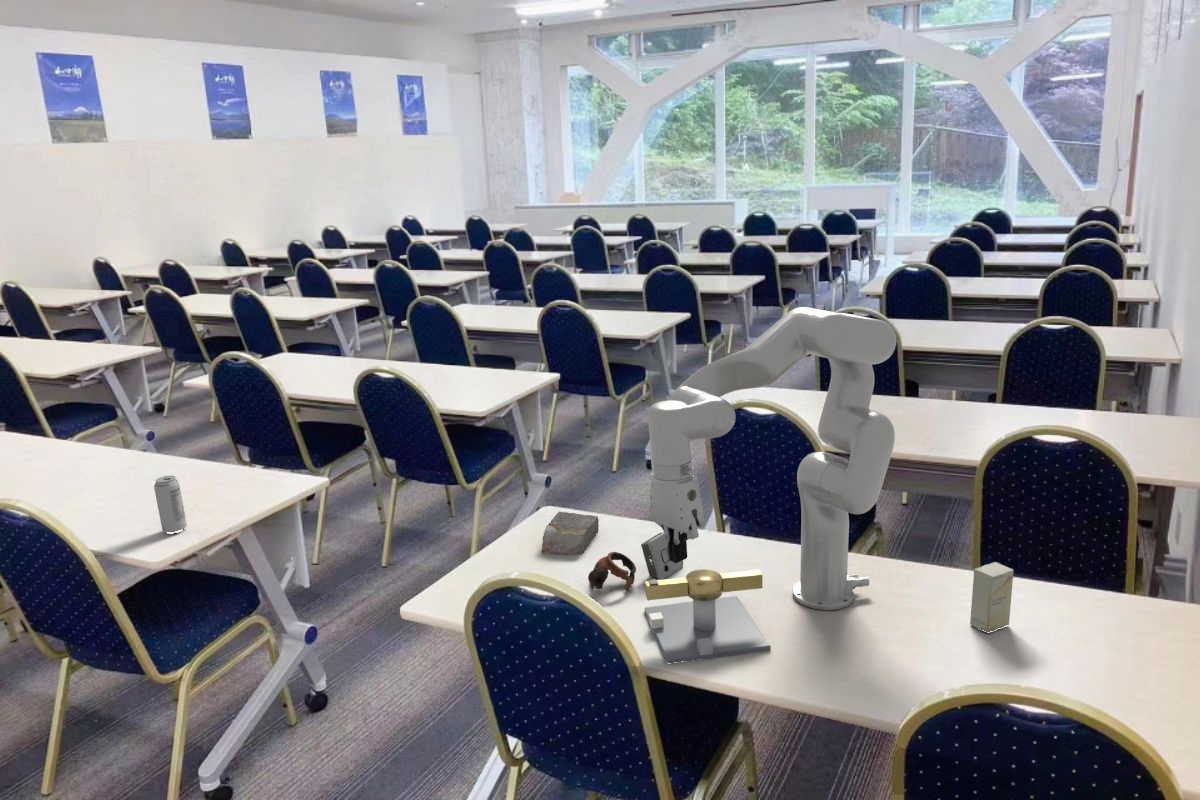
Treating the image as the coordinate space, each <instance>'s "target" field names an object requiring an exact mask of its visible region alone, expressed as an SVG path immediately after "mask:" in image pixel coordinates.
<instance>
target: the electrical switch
mask: <svg viewBox="0 0 1200 800" xmlns="http://www.w3.org/2000/svg"><path fill="white" fill-rule="evenodd" d="M668 542H669V541H667V540H666V538H665V533H664V531H663V532H659V533H656V535H654V536H652V537H651V538H649V539H648V540H645V541H644V542H642V543H641V544H640V546H641V550H642V553H643V556H644V560H645V563H646V564H645V565H646V568H647V570H648V571H647V572H648V575H649V577H655V578H656V579H657V580H666V579H667V578H668V577H669V576H671V575H672V574H674V573H675V572H677V571H678V570H680V569H681V568H683V567H684V560H682V561H680V562H678V563H674V562H673V561H670V560H669V550H668Z"/></svg>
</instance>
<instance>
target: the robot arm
mask: <svg viewBox="0 0 1200 800" xmlns="http://www.w3.org/2000/svg"><path fill="white" fill-rule="evenodd" d="M896 346H897V335H896V332H895V329H894V328H893V327H892V326H891V325H890V323H888V322H887V321H885V320H881V319H876V318H870V317H866V316H860V315H857V314H851V313H844V312H833V311H830V310H825V309H818V308H817V309H816V308H814V307H812V308H811V307H807V306H806V307H805V306H802V307H801V306H800V307H796V308H793V309H791V310H790V311H788V312H787V313H785V314H784V315H783V316H782V317H781V318H780V319H778V320H777V321H776V322H775V323H774V324H773V325H771V326H770V327H769V328H768V329H767V330H766V331H764V332H763V333H762V334H761V335H760V336H758V337H757V338H756V339H755V340H754V341H752V342H751V343H750V344H749V345H748V346H746V347H745V348H744V349H742V350H739V351H737V352H733V353H731V354H729V355H727V356H724V357H722V358H719V359H717V360H715V361H712V362H711V363H708V364H706V365H704V366H703V367H700V368H699V369H698V370H697V371H695V372H694V373H693V374H691V375H690V376H689V377H688V378H687V379H686V380H684V381H683V382H682V383H681V384H680V385H679V386H678V387H676V389H675V390H674V391H673V393H672V394H671V396H670V398H669V399H668V400H662V401H657V402H655V403H653V404H652V405H651V406H650V407H649V408H648V411H647V421H648V433H649V435H648V436H649V446H650V447H649V449H650V460H651V476H650V482H649V483H650V484H649V485H650V487H649V503H650V504H649V505H650V513H651V517H652V519H653V521H654V522H655V524H656V525H657V526H659V527H661V529H662V531H663V532H664V533H665V538H666V540H667V541H669V542H668V550H669V560H670V561H673V562H674V563H678V562H680V561H682V560H683V561H685V560H686V559H687V558H688V547H687V546H688V543H687V541H688V540H695V539H697V538H699V536H700V535H699V530H698V528H701V527H703V526H704V521H705V520H704V519H705V518H704V509H703V507H704V506H703V502H702V501H703V500H702V496H701V489H700V485H699V482H698V478H697V476H695V472H696V471H695V469H694V460H693V441H694V440H705V439H714V438H715V439H716V438H720V437H722V436H724V435H727V434H728V432H730V431H731V430H732V429H733V426H734V425H735V423H736V412H735V409H734V407H733V405H732V404H731V403H730V402H728V400H726V399H724V398H722V396H725V395H727V394H730V393H733V392H736V391H741V390H749V389H757V388H763V387H768V386H772V385H774V384H776V383H777V382H778V381H779V380H780V379H781V378H783V376H785V375H786V374H787V373H789V371H790V370H792V369H793V368H794V367H795V366H796V365H797V364H798V363H800V362H801V361H802V360H803V359H804V358H806V357H807V356H808V355H813V356H817V357H821V358H823V359H824V358H826V359H828V362H829V365H830V366H829V367H830V371H831V372H830V382H829V386H828V389H827V392H826V393H827V394H826V396H825V397H826V398H825V401H824V403H823V404H824V405H823V407H822V412H821V414H820V418H819V422H818V428H817V433H818V434H817V435H818V437H819V439H820V440H821V442H822V443H824V444H826V445H827V446H828V447H829V446H830V447H831V448H833V449H836V450H839V451H842V452H844V453H847V454H849V460H848V459H846V458H844V457H841V456H840V455H839V456H838V455H836V454H833V453H829V452H826V451H815V452H811V453H809V454H807V455H806V456H805V457H804V458H803V459H802V460H801V462H800V463H799V464H798V465H799V466H798V467H797V468H798V469H797V472H796V476H797V477H796V481H797V488H798V493H799V497H800V509H801V510H800V511H801V522H800V523H801V526H800V529H801V530H800V572H799V573H800V575H799V576H800V581H797V583H795V584H794V586H793V587H792V596H793V599H795V600H796V601H797V602H798V603H800V604H801V605H802V606H805V607H807V608H810V609H815V610H820V611H821V610H822V611H836V610H837V611H838V610H841V609H845V608H847V607H848V606H850V605H851V604H853V602H854V600H855V592H854V590H855V589H856V588H859V587H860V588H861V587H868V586H870V579H869V577H868V576H863V577H862V576H861V577H860V576H858V574H857V573H850V574H848V565H849V564H848V561H849V534H850V533H849V530H850V517H849V514H852V515H853V514H854V515H861V514H865V513H867V512H869V511H870V510H871V509H872V508H873V507H874V505H876V503H877V500H878V498H879V496H880V494H881V491H882V488H883V484H884V481H885V477H886V474H887V471H888V468H889V465H890V461H891V458H892V454H893V451H894V447H895V439H896V438H895V437H896V434H895V428H894V425H893V423H892V421H891V420H890V418H889V417H887V416H886V415H885V414H883V413H881V412H878V411H876V410H873V409H870V406H871V400H872V396H873V392H874V387H875V372H874V371H875V370H874V368H873V365H878V364H881V363H883V362H885V361H887V360H888V359H890V357H891V356H892V355H893V354H894V352H895V349H896Z"/></svg>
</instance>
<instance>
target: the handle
mask: <svg viewBox="0 0 1200 800" xmlns="http://www.w3.org/2000/svg"><path fill="white" fill-rule="evenodd" d="M644 588H645V598H646V600H647V601H656V600H662V599H663V600H664V599H673V598H684V597H688V598H690V599H691V600H693V599H694V600H698V601H711V600H715V599H717V598H721V597H722V595H723V593H731V592H732V593H733V592H739V591H740V592H741V591H748V590H749V591H751V590H756V589H757V590H758V589H763V573H762V571H761V570H760V569H753V570H746V571H745V570H744V571H737V572H735V571H734V572H727V573H719V571H718V572H717V571H716V570H712V569H705V568H704V569H695V570H692V571H690V572H688V573H687V574H686V576H685V577H677V578H665V579H664V580H658V579H650V580H647V581H644Z"/></svg>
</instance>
